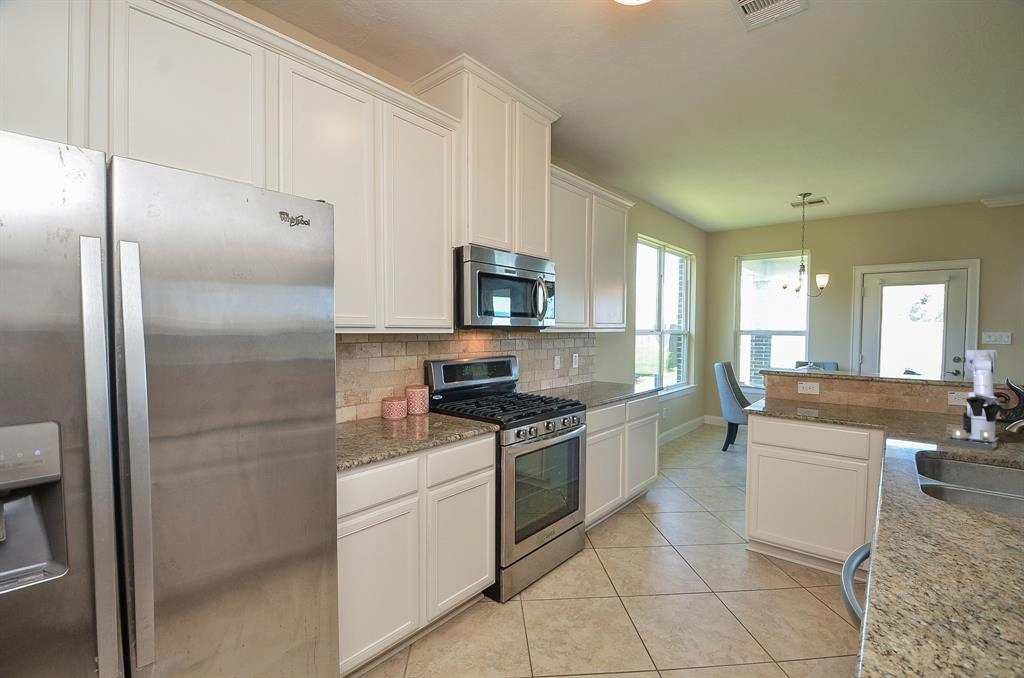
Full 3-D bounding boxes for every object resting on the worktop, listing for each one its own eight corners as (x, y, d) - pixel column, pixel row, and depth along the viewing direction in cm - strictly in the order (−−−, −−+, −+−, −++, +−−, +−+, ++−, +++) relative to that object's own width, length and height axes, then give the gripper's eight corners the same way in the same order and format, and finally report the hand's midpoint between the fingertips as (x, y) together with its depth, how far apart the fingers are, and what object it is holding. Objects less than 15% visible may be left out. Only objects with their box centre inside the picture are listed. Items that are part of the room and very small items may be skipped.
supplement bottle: (974, 431, 215) (974, 406, 215) (987, 433, 208) (987, 408, 208) (958, 430, 216) (958, 405, 216) (971, 433, 209) (971, 408, 209)
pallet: (951, 442, 191) (951, 436, 191) (996, 448, 180) (996, 441, 180) (945, 444, 186) (945, 438, 186) (991, 451, 175) (991, 444, 175)
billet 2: (981, 443, 188) (981, 429, 188) (995, 445, 185) (994, 430, 185) (979, 444, 186) (979, 430, 186) (993, 446, 183) (992, 431, 183)
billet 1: (953, 442, 188) (953, 428, 188) (967, 444, 185) (967, 429, 185) (951, 443, 186) (951, 429, 186) (965, 445, 183) (964, 431, 183)
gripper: (983, 381, 183) (984, 413, 179) (1007, 392, 186) (1009, 423, 182) (962, 383, 190) (962, 413, 186) (986, 393, 193) (987, 424, 189)
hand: (984, 418), depth 185 cm, fingers open, 7 cm apart
